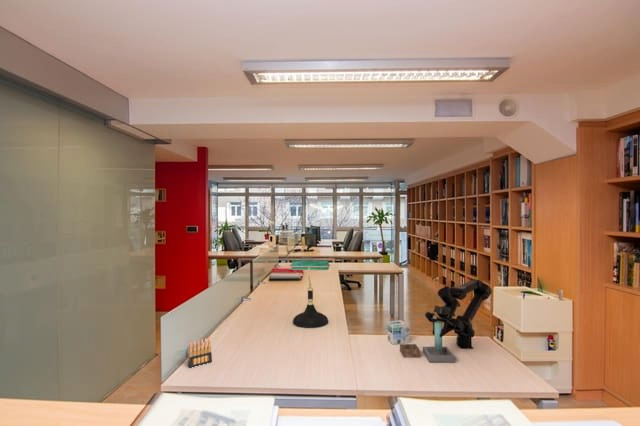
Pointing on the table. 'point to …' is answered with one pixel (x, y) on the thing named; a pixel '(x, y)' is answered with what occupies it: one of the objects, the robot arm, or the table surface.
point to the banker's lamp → (310, 296)
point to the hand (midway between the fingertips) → (436, 335)
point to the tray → (438, 355)
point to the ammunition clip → (199, 353)
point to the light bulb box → (398, 332)
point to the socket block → (409, 350)
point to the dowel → (438, 336)
